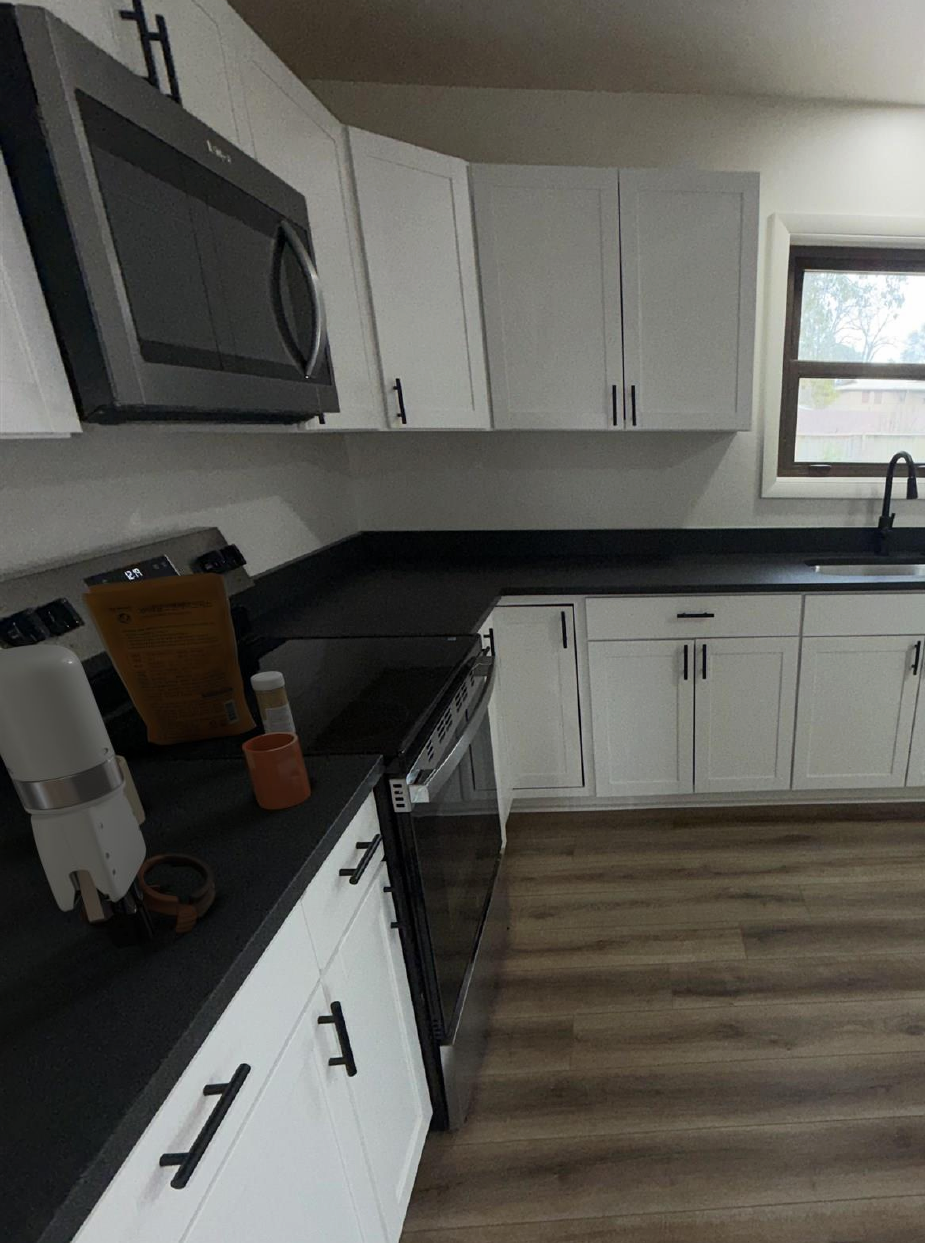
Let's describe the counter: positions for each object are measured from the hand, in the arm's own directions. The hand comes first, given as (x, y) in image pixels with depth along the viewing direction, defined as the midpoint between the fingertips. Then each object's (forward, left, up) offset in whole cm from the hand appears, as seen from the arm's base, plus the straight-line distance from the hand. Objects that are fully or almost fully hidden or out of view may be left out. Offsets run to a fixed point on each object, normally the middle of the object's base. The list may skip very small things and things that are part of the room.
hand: (136, 940), depth 74 cm
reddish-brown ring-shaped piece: (0, +6, -3) cm, 7 cm away
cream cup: (-11, +33, -2) cm, 35 cm away
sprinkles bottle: (+9, +51, -3) cm, 52 cm away
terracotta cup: (+10, +33, -2) cm, 35 cm away
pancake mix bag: (-5, +63, -3) cm, 64 cm away
